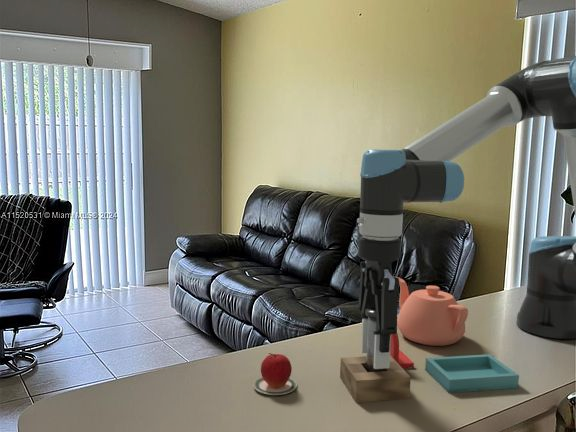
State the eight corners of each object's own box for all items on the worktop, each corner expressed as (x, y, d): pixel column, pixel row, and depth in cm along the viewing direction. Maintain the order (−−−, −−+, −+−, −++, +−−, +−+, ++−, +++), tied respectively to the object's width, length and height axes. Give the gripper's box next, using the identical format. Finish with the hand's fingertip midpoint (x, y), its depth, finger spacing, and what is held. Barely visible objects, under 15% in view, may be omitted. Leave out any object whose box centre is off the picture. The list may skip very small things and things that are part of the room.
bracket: (413, 368, 109) (415, 330, 108) (392, 369, 108) (394, 332, 107) (390, 346, 121) (391, 312, 120) (371, 347, 120) (372, 313, 119)
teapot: (372, 327, 132) (374, 278, 131) (417, 318, 140) (419, 272, 138) (440, 359, 114) (443, 303, 112) (487, 346, 122) (491, 293, 120)
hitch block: (389, 374, 106) (390, 355, 105) (409, 398, 96) (410, 377, 95) (340, 377, 104) (340, 357, 103) (355, 402, 94) (356, 380, 94)
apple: (245, 384, 100) (245, 351, 99) (279, 374, 105) (280, 342, 104) (270, 401, 94) (270, 366, 93) (305, 389, 99) (306, 355, 98)
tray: (488, 365, 111) (489, 354, 110) (517, 387, 101) (519, 375, 101) (425, 369, 108) (425, 358, 108) (448, 392, 98) (449, 379, 98)
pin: (379, 382, 102) (383, 306, 100) (387, 391, 98) (391, 313, 96) (359, 383, 101) (362, 307, 99) (366, 393, 98) (369, 314, 96)
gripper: (344, 227, 105) (340, 341, 108) (378, 247, 86) (372, 384, 89) (381, 227, 106) (376, 339, 109) (422, 246, 87) (415, 381, 90)
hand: (374, 359), depth 99 cm, fingers open, 6 cm apart
